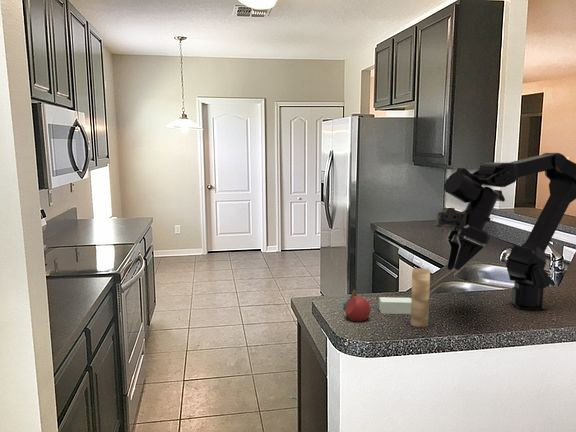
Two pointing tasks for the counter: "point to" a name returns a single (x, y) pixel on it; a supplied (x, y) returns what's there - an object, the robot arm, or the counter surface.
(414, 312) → the oak post
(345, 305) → the dragon figurine
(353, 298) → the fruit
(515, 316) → the counter surface
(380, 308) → the white block
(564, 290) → the counter surface
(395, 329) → the counter surface
